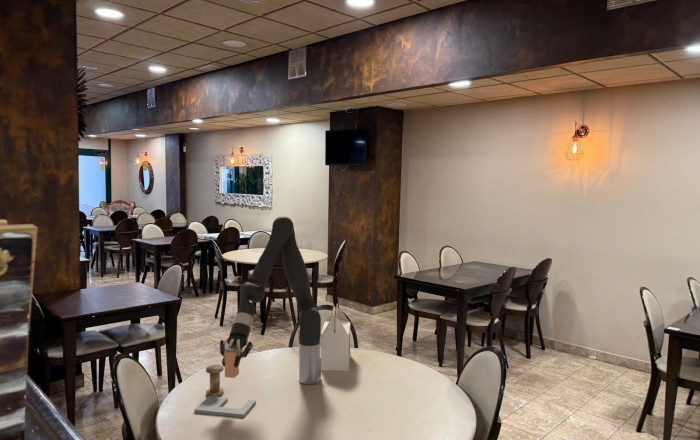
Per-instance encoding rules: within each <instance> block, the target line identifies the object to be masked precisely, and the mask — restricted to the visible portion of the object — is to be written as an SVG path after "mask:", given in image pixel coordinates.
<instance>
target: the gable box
mask: <svg viewBox="0 0 700 440" xmlns="http://www.w3.org/2000/svg"><path fill="white" fill-rule="evenodd" d="M338 306H339V303H336V305H333V306H332V310H331V313H330V315H329V316H328V317H327V319H326V320H325V321H324V323H323V326H322V328H321V329H322V330H321V337H320V358H321V372H323V371H324V372H328V371H329V372H334V371H335V372H349V371H350V370H349V368H350V358H351V322H350V321H349V319H348V318H347V316H346V314H345V313H344V312H343V310H342V309H341V308H339V307H338Z"/></svg>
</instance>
